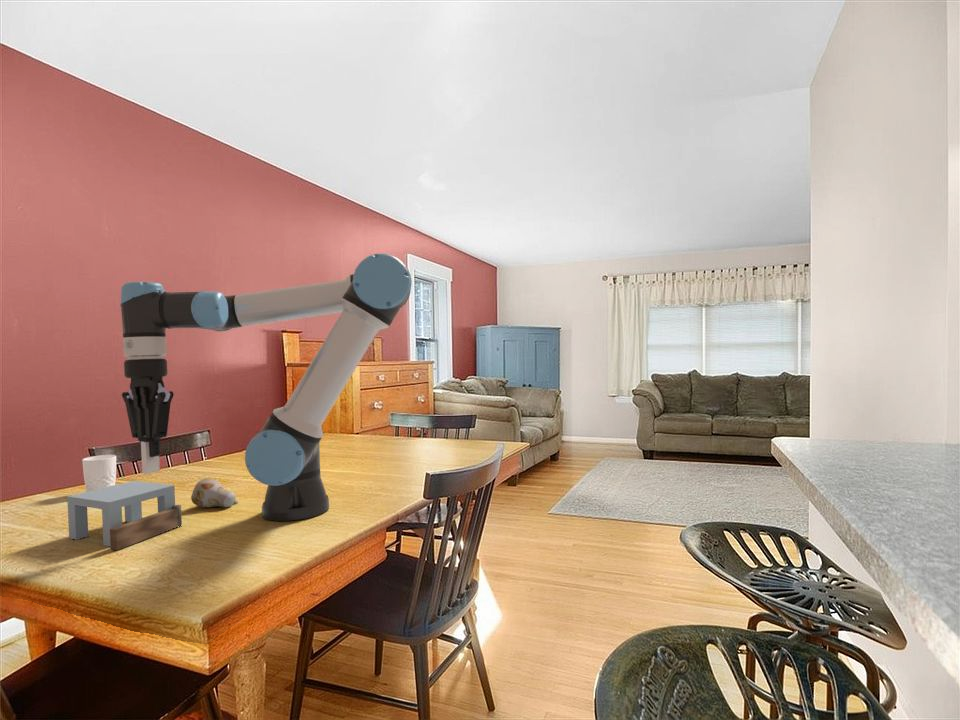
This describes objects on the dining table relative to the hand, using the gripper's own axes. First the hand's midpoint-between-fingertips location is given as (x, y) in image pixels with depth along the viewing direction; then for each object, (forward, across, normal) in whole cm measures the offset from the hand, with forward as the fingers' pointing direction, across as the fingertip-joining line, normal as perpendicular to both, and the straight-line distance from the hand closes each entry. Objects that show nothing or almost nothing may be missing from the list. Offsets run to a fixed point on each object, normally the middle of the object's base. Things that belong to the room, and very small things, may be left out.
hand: (151, 472), depth 110 cm
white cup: (+14, -53, +21) cm, 59 cm away
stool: (+14, -11, +1) cm, 18 cm away
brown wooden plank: (+14, -2, +1) cm, 14 cm away
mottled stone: (+14, -8, +22) cm, 27 cm away
